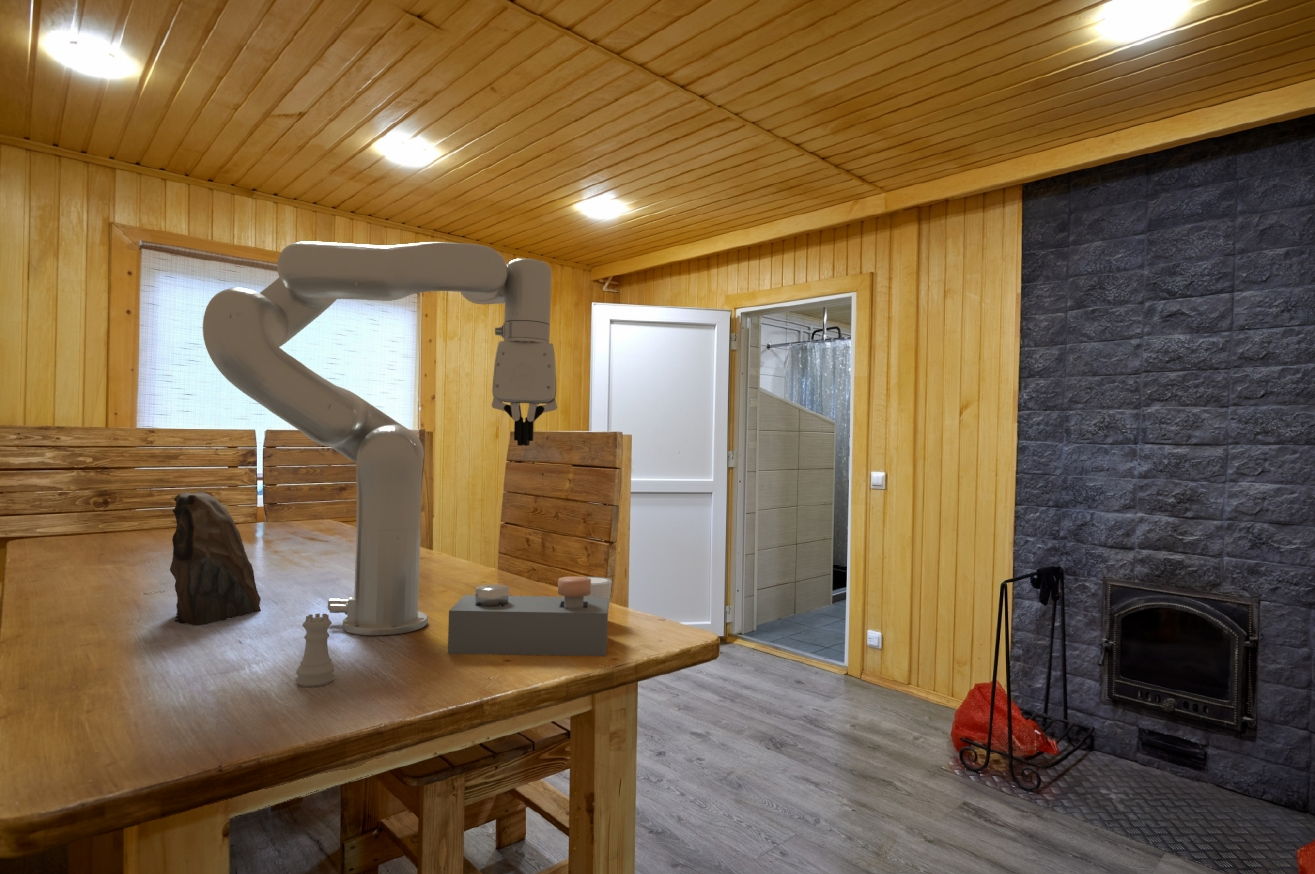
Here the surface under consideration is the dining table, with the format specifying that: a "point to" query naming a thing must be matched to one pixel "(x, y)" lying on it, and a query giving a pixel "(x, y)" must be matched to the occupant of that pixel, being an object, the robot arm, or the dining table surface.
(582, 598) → the terracotta plug
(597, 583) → the shot glass
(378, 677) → the dining table surface
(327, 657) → the rook chess piece
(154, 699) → the dining table surface
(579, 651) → the press console
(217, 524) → the brown rock
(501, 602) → the steel plug
